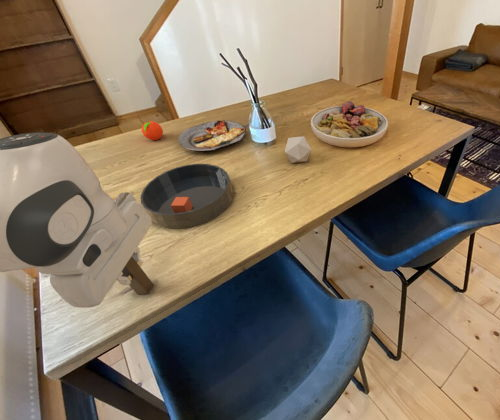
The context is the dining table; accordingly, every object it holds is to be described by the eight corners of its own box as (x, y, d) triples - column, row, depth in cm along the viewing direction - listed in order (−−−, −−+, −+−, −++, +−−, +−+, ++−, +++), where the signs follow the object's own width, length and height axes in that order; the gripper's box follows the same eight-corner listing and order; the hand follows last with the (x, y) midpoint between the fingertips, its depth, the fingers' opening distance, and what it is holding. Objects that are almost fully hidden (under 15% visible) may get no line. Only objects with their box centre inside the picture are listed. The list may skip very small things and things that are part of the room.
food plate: (229, 120, 120) (227, 112, 118) (258, 138, 107) (256, 130, 105) (171, 139, 108) (167, 130, 105) (196, 162, 95) (192, 154, 93)
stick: (148, 294, 58) (113, 252, 48) (137, 294, 58) (99, 252, 48) (153, 284, 59) (120, 241, 50) (142, 284, 59) (107, 241, 50)
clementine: (159, 144, 104) (151, 127, 100) (141, 144, 104) (132, 127, 100) (168, 134, 110) (161, 117, 105) (151, 134, 110) (143, 117, 106)
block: (193, 206, 77) (188, 196, 75) (188, 215, 74) (183, 205, 72) (180, 206, 77) (175, 196, 75) (175, 215, 74) (170, 205, 72)
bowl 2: (392, 151, 100) (395, 131, 94) (309, 151, 100) (308, 131, 95) (380, 116, 122) (382, 98, 116) (312, 116, 122) (312, 99, 117)
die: (304, 171, 92) (317, 143, 89) (279, 159, 89) (292, 131, 87) (301, 166, 100) (314, 140, 97) (279, 155, 97) (291, 129, 94)
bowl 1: (202, 236, 70) (196, 222, 66) (129, 218, 75) (119, 204, 71) (247, 183, 86) (244, 170, 82) (184, 171, 91) (179, 158, 88)
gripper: (110, 187, 53) (142, 235, 62) (25, 277, 38) (84, 323, 47) (142, 187, 53) (170, 235, 62) (70, 277, 38) (121, 323, 47)
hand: (132, 274), depth 55 cm, fingers closed on stick, 2 cm apart
